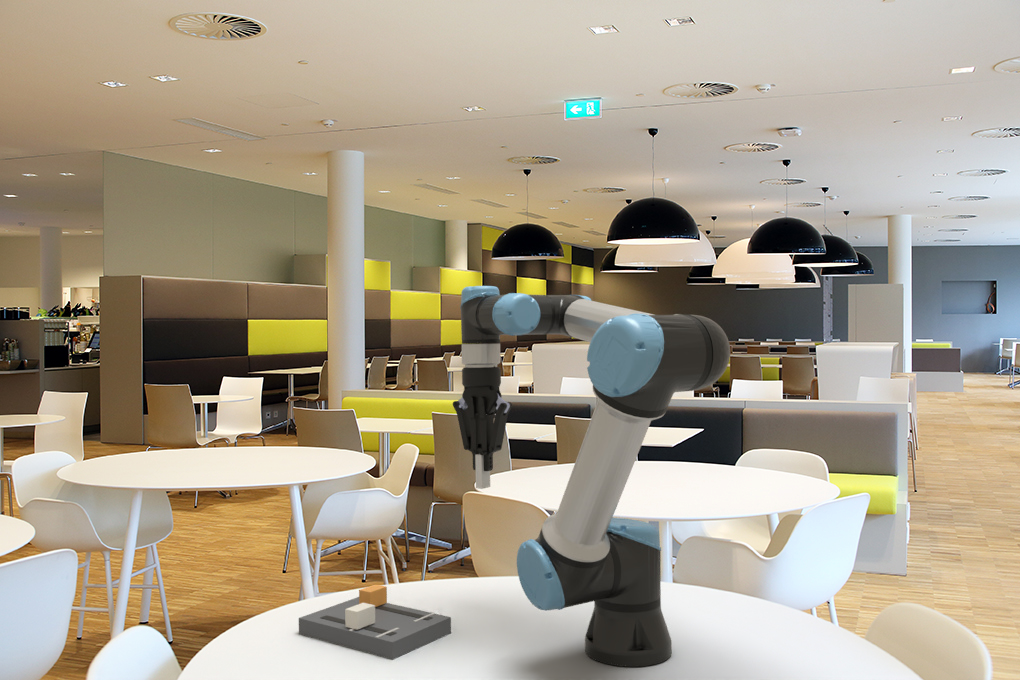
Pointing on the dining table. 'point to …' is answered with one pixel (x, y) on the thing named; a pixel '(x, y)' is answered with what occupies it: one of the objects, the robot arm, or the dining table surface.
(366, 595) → the fader orange
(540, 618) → the dining table surface
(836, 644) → the dining table surface
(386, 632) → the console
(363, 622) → the fader cream
